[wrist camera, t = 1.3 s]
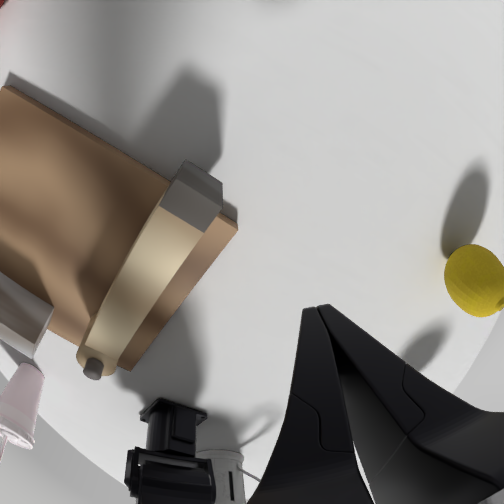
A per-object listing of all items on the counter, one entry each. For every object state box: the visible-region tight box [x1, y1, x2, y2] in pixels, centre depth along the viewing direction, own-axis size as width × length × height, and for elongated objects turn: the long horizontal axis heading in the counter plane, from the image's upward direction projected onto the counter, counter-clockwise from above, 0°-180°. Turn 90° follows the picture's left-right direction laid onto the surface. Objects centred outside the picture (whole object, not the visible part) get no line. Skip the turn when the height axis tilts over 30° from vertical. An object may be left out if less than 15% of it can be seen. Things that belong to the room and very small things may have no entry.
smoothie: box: [0, 363, 45, 463], centre depth 21 cm, size 6×6×14 cm
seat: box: [0, 86, 238, 380], centre depth 17 cm, size 18×20×6 cm
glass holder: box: [196, 450, 261, 504], centre depth 34 cm, size 9×14×15 cm, turn 122°
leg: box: [76, 160, 223, 376], centre depth 18 cm, size 17×3×4 cm, turn 143°
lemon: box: [444, 244, 504, 317], centre depth 20 cm, size 6×6×8 cm
